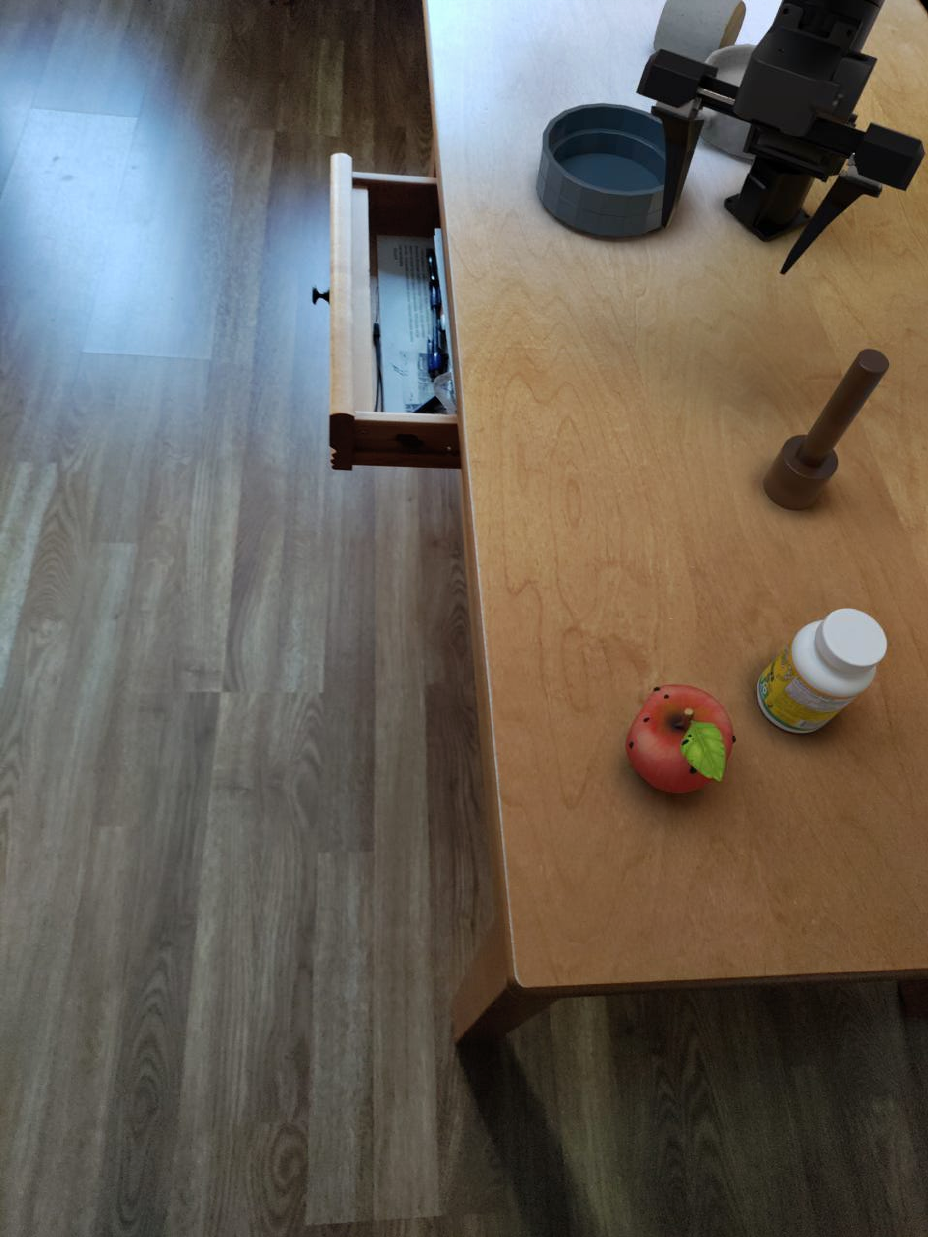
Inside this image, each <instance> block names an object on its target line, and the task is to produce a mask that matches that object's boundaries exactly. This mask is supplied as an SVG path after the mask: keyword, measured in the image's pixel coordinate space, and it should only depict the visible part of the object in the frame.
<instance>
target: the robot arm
mask: <svg viewBox="0 0 928 1237" xmlns="http://www.w3.org/2000/svg"><path fill="white" fill-rule="evenodd" d="M885 2H886V0H781V2H780V5H779V7H778V10H777V12H776V14H775V17H774V19H773V22H772V24H771V26H770V27H769V28H768V30H767V31H766V32H765V34H764V35H763V36H762V38H761V39H760V40H759V42H758V43H757V44H756V45H757V46H756V48H755V49H754V50H753V52H752V54H751V56H750V59H749V62H748V65H747V68H746V70H745V73H744V76H743V79H742V82H741V84H740V87H739V86H736V85H733V84H731V83H728V82H725V81H722V80H719V79H717V78H716V76H717V72H718V67H716V66H713V65H710V64H707V63H704V62H702V61H699V60H696V59H693V58H690V57H687V56H685V55H682V54H679V53H676V52H673V51H669V50H665V49H660V50H658V51H657V52H656V51H655V52H653V53H652V54H651V55H650V56H649V58H648V60H647V61H646V63H645V65H644V67H643V71H642V73H641V75H640V76H641V77H640V79H639V82H638V85H637V88H636V91H635V94H638V95H640V96H642V97H645V98H648V99H651V100H653V101H656V103H655V105H651V107H650V112H649V113H650V114H651V115H653V116H655V117H657V118H660V119H661V121H662V126H663V131H664V137H665V157H666V165H665V180H664V192H663V204H662V217H661V226H660V227H661V228H664V229H667V228H668V227H669V226H670V223H671V221H672V219H673V217H674V214H675V212H676V211H677V208H678V205H679V202H680V199H681V196H682V193H683V190H684V187H685V183H686V180H687V177H688V174H689V171H690V167H691V164H692V161H693V159H694V155H695V152H696V148H697V146H698V142H699V140H700V136H701V134H700V133H701V130H702V127H703V124H704V120H705V119H703V118H700V117H698V116H697V115H698V112H699V110H702V109H703V107H706V108H709V109H711V110H714V111H717V112H720V113H722V114H725V115H728V116H730V117H733V118H736V119H739V120H741V121H744V122H747V123H750V124H751V126H750V129H749V132H748V136H747V139H746V142H745V145H744V148H743V152H744V153H746V154H748V153H749V154H752V155H755V158H754V160H753V161H752V164H751V165H750V169H749V171H748V173H747V174H746V176H745V178H744V180H743V184H742V186H741V189H740V191H739V193H736V194H734V195H731V196H728V197H726V198H725V199H724V201H723V206H724V207H725V209H727V210H728V211H729V212H730V213H732V214H733V215H734V216H735V217H736V218H737V219H739V220H740V221H741V222H742V223H743V224H744V225H745V226H746V227H747V228H749V229H750V230H751V231H752V232H753V233H754V234H755V235H757V237H759V238H760V239H761V240H763V241H769V240H772V239H774V238H776V237H779V236H781V235H783V234H785V233H788V232H790V231H792V230H795V229H797V228H800V227H802V226H804V225H805V227H804V229H803V230H802V232H801V233H800V235H799V237H798V238H797V239H796V241H795V243H794V244H793V246H792V247H791V249H790V251H789V252H788V254H787V256H786V258H785V260H784V262H783V264H782V266H781V269H780V271H779V274H780V275H783V276H785V275H786V274H787V273H788V272H789V271H790V270H791V268H792V267H794V265H795V264H796V263H797V261H798V260H799V259H801V257H802V256H803V255H804V253H805V252H806V251H808V249H809V248H810V246H811V245H812V244H813V243H814V242H815V241H816V240H817V238H819V237H820V235H821V234H822V233H823V232H824V231H825V230H826V229H827V227H828V226H829V225H830V224H831V223H832V222H833V221H834V220H836V219H837V218H838V217H839V216H840V215H841V214H842V213H844V211H846V210H847V209H848V208H849V207H850V206H851V205H852V204H854V203H855V202H856V201H857V200H858V199H859V198H860V197H862V196H864V195H865V196H868V197H871V198H875V199H879V197H880V196H881V194H882V192H883V185H885V186H888V187H891V188H893V189H896V190H899V191H902V192H906V191H907V189H908V188H909V186H910V184H911V182H912V181H913V179H914V177H915V175H916V173H917V171H918V170H919V167H920V166H921V164H922V161H923V159H924V158H925V156H926V152H925V146H924V144H923V141H922V139H921V138H918V137H915V136H912V135H911V134H907V133H905V132H902V131H899V130H896V129H893V128H890V127H887V126H885V125H882V124H880V123H879V124H878V123H876V122H873V121H870V122H869V124H868V126H867V128H866V131H865V130H862V129H859V128H856V127H857V120H858V118H859V114H857V113H854V112H855V109H856V107H857V105H858V103H859V100H860V99H861V96H862V95H863V93H864V90H865V88H866V86H867V84H868V81H869V79H870V77H871V75H872V73H873V71H874V69H875V67H876V64H877V62H878V58H877V57H876V56H872V55H870V54H866V53H863V52H862V51H863V49H864V46H865V44H866V41H867V40H868V38H869V36H870V34H871V31H872V29H873V27H874V25H875V24H876V22H877V21H876V20H877V18H878V16H879V14H880V12H881V9H883V6H884V3H885ZM846 161H847V162H846ZM845 163H846V166H848V169H847V170H844V169H843V168H844V165H845ZM835 176H837V177H836V179H835V181H834V182H833V184H832V185H831V187H830V188H829V190H828V191H827V193H826V195H825V196H824V198H823V199H822V201H821V202H820V204H819V205H818V207H817V209H816V210H815V211H814V213H813V214H812V215H811V214H810V213H808V212H807V211H806V210H805V209H803V205H804V203H805V202H806V199H807V196H808V194H809V192H810V191H811V188H812V186H813V184H814V182H815V179H817V180H819V181H820V182H822V183H825V184H826V183H827V182H828V180H829V178H830V177H831V178H832V177H835Z"/></svg>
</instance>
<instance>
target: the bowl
mask: <svg viewBox="0 0 928 1237" xmlns="http://www.w3.org/2000/svg"><path fill="white" fill-rule="evenodd" d="M540 143H541V144H540V148H539V154H538V162H537V167H536V175H535V191H536V192H537V195H538V196H539V199H540V201H541V203H542V205H543V206H545V208H546V209H547V210H548V211H549V212H550V213H551V214H553V216H554V217H556V218H557V219H559V220H560V221H562V222H563V223H565V224H566V225H568V226H570V227H572V228H574V229H576V230H578V231H579V232H583V233H586V234H590V235H594V236H598V237H604V238H627V237H633V236H641V235H643V234H646V233H648V232H651V231H653V230H656V229H658V228H660V227H661V217H662V204H663V192H664V180H665V165H666V157H665V137H664V131H663V126H662V121H661V119H660V118H657V117H655V116H653V115H651V114H650V112H648V111H646V110H643V109H640V108H636V107H633V106H629V105H624V104H616V103H609V102H608V103H607V102H597V103H587V104H579V105H577V106H574V107H571V108H568V109H564V110H563V111H561V112H560V113H559V114H557V115H556V116H554V117H553V118H551V119H550V120H549V122H548V124H547V125H546V127H545V129H544V130H543V132H542V135H541V142H540Z"/></svg>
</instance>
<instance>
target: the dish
mask: <svg viewBox="0 0 928 1237" xmlns="http://www.w3.org/2000/svg"><path fill="white" fill-rule="evenodd" d="M757 45H758V44H751V43H742V44H734V45H732V46H728V47H724V48H722V49H719V50H716V51H715V52H713V53H712V54H711V55H710V56H709V57H708V58H707V59H706V60H705V62H704V63H707V64H710V65H713V66H716V67H718V72H717V76H716V78H717V79H719V80H722V81H725V82H728V83H731V84H733V85H736V86H739V87H740V84H741V82H742V79H743V76H744V73H745V70H746V68H747V65H748V62H749V59H750V56H751V54H752V52H753V50H754V49H755V48H756V46H757ZM697 116H698V117H700V118H703V119H705V120H704V124H703V127H702V130H701V133H700V136H701V137H702V138H703V139H704V140H706V141H707V143H709V144H711V145H712V146H714V147H716V148H718V149H720V150H722V151H724V152H726V153H729V154H731V155H735V156H738V157H741V158H745V159H749V160H753V161H754V158H755V155H752V154H749V153H748V154H746V153H744V152H743V148H744V145H745V142H746V139H747V136H748V132H749V129H750V126H751V124H750V123H747V122H744V121H741V120H739V119H736V118H733V117H730V116H728V115H725V114H722V113H720V112H717V111H714V110H711V109H709V108H706V107H703V109H702V110H699V112H698V115H697Z"/></svg>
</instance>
